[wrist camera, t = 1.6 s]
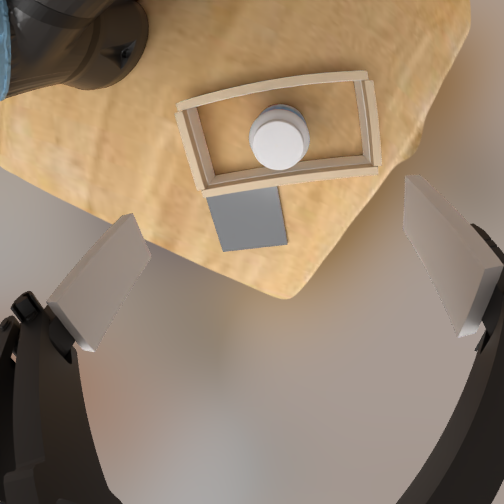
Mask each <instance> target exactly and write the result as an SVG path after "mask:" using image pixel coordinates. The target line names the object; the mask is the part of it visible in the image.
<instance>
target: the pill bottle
mask: <svg viewBox="0 0 504 504" xmlns="http://www.w3.org/2000/svg"><path fill="white" fill-rule="evenodd" d="M249 143H250V147H251V149H252V151H253V153H254V155H255V157H256V158H257V160H258V161H259V162H260V163H261V164H262V165H264V166H265V167H267V168H270V169H273V170H285V169H288V168H291V167H292V166H294V165H295V164H296V163H297V162H298V161H300V160H301V159H302V158H303V157H304V155H305V154H306V152H307V150H308V147H309V143H310V135H309V131H308V128H307V125H306V122H305V119H304V117H303V116H302V114H301V113H300V112H299V111H298V110H297V109H295V108H294V107H292V106H289V105H285V104H275V105H271V106H269V107H267V108H266V109H264V110H263V111H262V112H261V114H260V115H259V116H258V117H257V118H256V120H255V121H254V122H253V124H252V126H251V129H250V132H249Z"/></svg>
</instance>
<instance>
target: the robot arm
mask: <svg viewBox="0 0 504 504" xmlns="http://www.w3.org/2000/svg"><path fill="white" fill-rule="evenodd" d="M147 37H148V20H147V16H146V13H145V11H144V10H143V8H142V7H141V5H140V4H139V3H137V2H136V1H135V0H0V101H2V100H4V99H5V98H8V97H11V96H15V95H18V94H21V93H25V92H28V91H32V90H35V89H39V88H43V87H47V86H52V85H56V84H64V85H68V86H71V87H75V88H77V89H81V90H95V89H101V88H105V87H108V86H111V85H113V84H115V83H117V82H118V81H120V80H121V79H123V78H124V77H125V76H126V75H127V74H128V73H129V72H130V71H131V70H132V69H133V68H134V66H135V65H136V63H137V62H138V60H139V59H140V57H141V55H142V53H143V51H144V48H145V45H146V42H147ZM403 231H404V232H405V234H406V236H407V237H408V239H409V241H410V242H411V244H412V246H413V248H414V249H415V251H416V253H417V255H418V256H419V258H420V260H421V262H422V263H423V265H424V267H425V269H426V271H427V273H428V275H429V277H430V279H431V281H432V283H433V284H434V286H435V289H436V290H437V292H438V295H439V296H440V299H441V301H442V303H443V305H444V307H445V310H446V312H447V314H448V316H449V318H450V320H451V323H452V325H453V328H454V330H455V332H456V335H457V337H462V336H466V335H470V334H474V333H476V331H477V329H478V327H479V325H480V323H481V321H483V323H484V326H485V328H486V330H485V332H484V334H483V336H482V338H481V340H480V342H479V343H478V345H477V347H476V348H475V351H477V350H478V352H477V355H476V358H475V361H474V364H473V367H472V369H471V372H470V375H469V377H468V380H467V382H466V385H465V387H464V390H463V392H462V394H461V397H460V399H459V401H458V404H457V406H456V408H455V410H454V412H453V414H452V416H451V418H450V420H449V422H448V424H447V426H446V428H445V430H444V432H443V434H442V436H441V437H440V439H439V441H438V443H437V444H436V446H435V448H434V449H433V451H432V453H431V454H430V456H429V458H428V459H427V461H426V463H425V464H424V466H423V467H422V469H421V470H420V472H419V473H418V475H417V476H416V477H415V479H414V480H413V482H412V483H411V485H410V486H409V487H408V489H407V490H406V491H405V493H404V494H403V495H402V497H401V498H400V499H399V500H398V502H397V503H396V504H491V503H492V501H493V500H494V498H495V496H496V494H497V492H498V490H499V488H500V486H501V484H502V482H503V480H504V254H503V252H502V251H501V250H500V248H499V247H497V245H496V244H495V243H494V241H493V240H491V238H490V237H489V235H488V234H487V233H486V232H485V231H484V230H482V229H481V228H480V227H478V226H476V225H475V224H469V223H468V222H467V220H466V219H465V218H464V217H463V216H462V215H461V214H460V213H459V212H458V211H457V210H456V209H455V208H454V207H453V206H452V205H451V204H450V203H449V202H448V201H447V200H446V199H445V198H444V197H443V196H442V195H441V194H440V193H439V192H438V191H437V190H436V189H435V188H434V187H433V186H432V185H431V184H429V183H428V182H427V181H426V180H425V179H424V178H423V177H422V176H421V175H406V176H405V199H404V219H403ZM151 257H152V256H151V254H150V252H149V250H148V247H147V245H146V243H145V240H144V238H143V236H142V234H141V231H140V229H139V227H138V224H137V222H136V219H135V217H134V215H133V213H131V214H127V215H122V216H121V217H120V218H119V219H118V220H117V221H116V222H115V223H114V224H113V225H112V226H111V227H110V228H109V229H108V230H107V231H106V232H105V233H104V234H103V236H102V237H101V238H100V239H99V240H98V241H97V242H96V243H95V244H94V245H93V246H92V247H91V249H90V250H89V251H88V252H87V253H86V254H85V255H84V256H83V257H82V259H81V260H80V261H79V262H78V263H77V264H76V266H75V267H74V268H73V269H72V270H71V271H70V273H69V274H68V275H67V276H66V277H65V279H64V280H63V281H62V282H61V284H60V285H59V286H58V287H57V289H56V290H55V291H54V292H53V294H52V295H51V296H50V297H49V299H48V300H47V304H48V305H47V306H46V308H45V309H43V307H42V306H41V304H40V303H39V302H38V300H37V299H36V297H35V296H34V294H33V293H32V292H31V291H27V292H25V293H23V294H22V295H21V296H20V297H18V298H17V299H16V300H15V301H14V303H13V304H12V306H11V310H12V311H13V312H14V314H15V315H16V316H17V318H18V319H19V320H20V321H21V323H19V322H18V321H17V319H16V318H15V317H14V316H9V317H8V318H5V319H4V320H3V321H2V322H1V324H0V501H1V502H0V504H122V503H121V501H120V500H119V499H118V498H117V497H115V496H114V494H112V493H111V491H110V490H109V488H108V486H107V483H106V481H105V478H104V475H103V472H102V469H101V466H100V463H99V460H98V456H97V453H96V449H95V446H94V442H93V439H92V435H91V431H90V427H89V422H88V418H87V413H86V409H85V403H84V398H83V393H82V387H81V381H80V374H79V367H78V358H77V352H76V349H75V348H74V347H73V346H72V345H73V343H74V342H75V341H76V342H77V343H78V344H79V346H80V347H81V348H82V349H83V350H86V351H93V352H95V351H96V349H97V347H98V345H99V344H100V342H101V340H102V338H103V336H104V335H105V333H106V331H107V329H108V328H109V326H110V324H111V322H112V321H113V319H114V317H115V315H116V314H117V312H118V310H119V309H120V307H121V305H122V304H123V302H124V300H125V299H126V297H127V295H128V293H129V292H130V290H131V289H132V287H133V286H134V284H135V282H136V281H137V279H138V278H139V276H140V274H141V273H142V271H143V270H144V268H145V267H146V265H147V264H148V262H149V260H150V259H151ZM12 353H13V354H14V355H15V356H16V363H15V362H14V361H13V360H12V359H11V355H12Z"/></svg>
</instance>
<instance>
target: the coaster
mask: <svg viewBox="0 0 504 504" xmlns="http://www.w3.org/2000/svg"><path fill="white" fill-rule="evenodd" d="M206 199H207V202H208V206H209V209H210V212H211V215H212V218H213V222H214V225H215V228H216V231H217V234H218V237H219V241H220V244H221V247H222V250H223V252H226V251H235V250H244V249H252V248H261V247H270V246H279V245H288V242H287V236H286V230H285V225H284V219H283V214H282V208H281V203H280V198H279V193H278V187H277V186H274V187H267V188H261V189H254V190H248V191H241V192H235V193H229V194H223V195H218V196H212V197H207V198H206Z"/></svg>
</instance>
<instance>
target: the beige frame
mask: <svg viewBox="0 0 504 504" xmlns="http://www.w3.org/2000/svg"><path fill="white" fill-rule="evenodd" d="M341 81H354V86H355V93H356V99H357V106H358V113H359V121H360V129H361V139H362V149H363V155H359V156H347V157H337V158H327V159H318V160H310V161H302V162H297V163H296V164H295V165H294V166H292V167H291V168H288V169H285V170H273V169H270V168H267V167H261V168H254V169H249V170H243V171H237V172H232V173H226V174H221V175H216V176H215V173H214V169H213V165H212V162H211V158H210V155H209V151H208V147H207V144H206V140H205V137H204V133H203V129H202V126H201V122H200V118H199V114H198V111H197V106H201V105H204V104H208V103H212V102H216V101H220V100H224V99H228V98H233V97H237V96H242V95H246V94H251V93H257V92H262V91H267V90H273V89H279V88H286V87H293V86H300V85H309V84H318V83H328V82H341ZM176 106H177V110H178V111H180V112H177V113H174V114H175V118H176V121H177V125H178V128H179V132H180V135H181V139H182V142H183V146H184V149H185V152H186V156H187V159H188V162H189V166H190V169H191V172H192V175H193V179H194V182H195V185H196V188H197V191H199V190H201V192H202V195H203V198H207V197H212V196H218V195H223V194H229V193H235V192H241V191H248V190H254V189H261V188H267V187H274V186H281V185H289V184H296V183H304V182H312V181H321V180H330V179H339V178H349V177H360V176H371V175H378V166H382V157H381V142H380V130H379V120H378V111H377V103H376V96H375V89H374V82H373V80H369V78H368V72H367V71H364V70H361V71H340V72H326V73H316V74H306V75H298V76H291V77H284V78H278V79H272V80H266V81H260V82H255V83H250V84H245V85H241V86H236V87H232V88H228V89H223V90H219V91H215V92H212V93H208V94H204V95H201V96H197V97H194V98H190V99H187V100H184V101H180V102H179V103H176ZM181 110H183V111H181Z"/></svg>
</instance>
